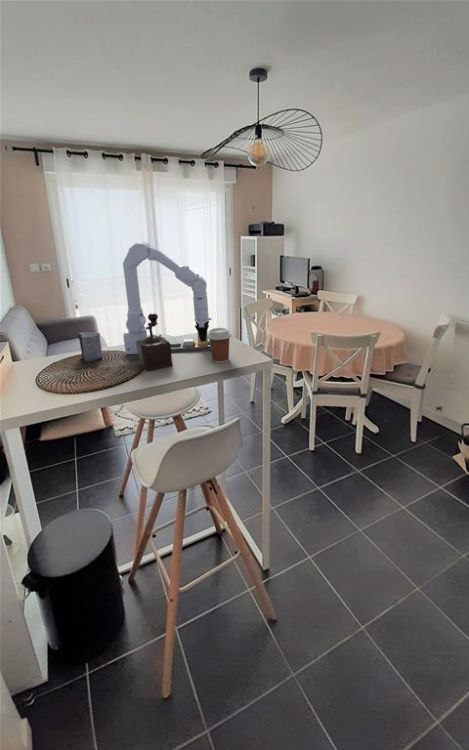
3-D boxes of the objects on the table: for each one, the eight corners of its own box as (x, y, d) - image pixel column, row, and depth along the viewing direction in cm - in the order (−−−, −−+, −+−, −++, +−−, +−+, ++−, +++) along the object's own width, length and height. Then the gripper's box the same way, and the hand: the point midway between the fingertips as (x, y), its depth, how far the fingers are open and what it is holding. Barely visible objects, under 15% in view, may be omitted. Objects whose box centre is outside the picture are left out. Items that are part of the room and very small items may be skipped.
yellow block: (198, 348, 152) (197, 332, 149) (198, 345, 155) (197, 329, 153) (208, 347, 152) (207, 331, 149) (208, 345, 155) (207, 329, 153)
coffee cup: (224, 354, 145) (223, 325, 140) (236, 360, 137) (235, 330, 133) (204, 359, 140) (202, 329, 135) (216, 366, 133) (214, 335, 128)
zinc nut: (184, 350, 152) (183, 341, 150) (185, 347, 155) (184, 338, 154) (194, 350, 152) (193, 341, 150) (194, 347, 155) (193, 338, 154)
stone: (78, 367, 142) (77, 353, 149) (104, 367, 147) (102, 353, 154) (78, 342, 136) (77, 328, 143) (106, 342, 140) (103, 329, 147)
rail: (165, 352, 150) (164, 348, 149) (167, 347, 156) (166, 343, 156) (212, 350, 151) (212, 346, 150) (212, 344, 157) (212, 341, 157)
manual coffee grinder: (175, 365, 135) (169, 318, 128) (146, 372, 130) (139, 323, 123) (161, 354, 148) (155, 311, 141) (134, 360, 143) (127, 315, 136)
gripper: (210, 311, 141) (212, 344, 146) (210, 303, 154) (212, 334, 159) (192, 312, 140) (195, 345, 145) (194, 304, 154) (196, 335, 159)
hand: (203, 339), depth 152 cm, fingers closed on yellow block, 4 cm apart
